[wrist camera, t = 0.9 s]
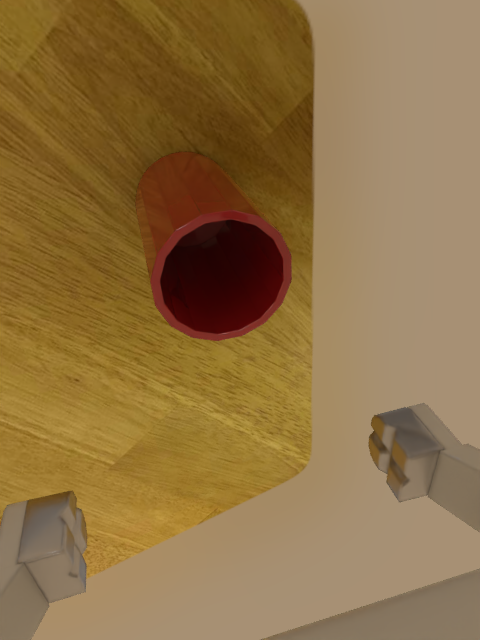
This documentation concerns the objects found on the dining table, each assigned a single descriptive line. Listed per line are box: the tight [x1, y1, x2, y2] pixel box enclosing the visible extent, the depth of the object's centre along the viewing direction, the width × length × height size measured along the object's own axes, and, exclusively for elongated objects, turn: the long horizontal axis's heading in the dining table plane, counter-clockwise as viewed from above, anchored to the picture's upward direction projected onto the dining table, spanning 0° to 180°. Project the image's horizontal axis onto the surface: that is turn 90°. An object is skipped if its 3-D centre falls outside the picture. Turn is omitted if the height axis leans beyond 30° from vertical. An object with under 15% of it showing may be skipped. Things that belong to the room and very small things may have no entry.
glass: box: [135, 152, 292, 341], centre depth 24 cm, size 6×6×11 cm
